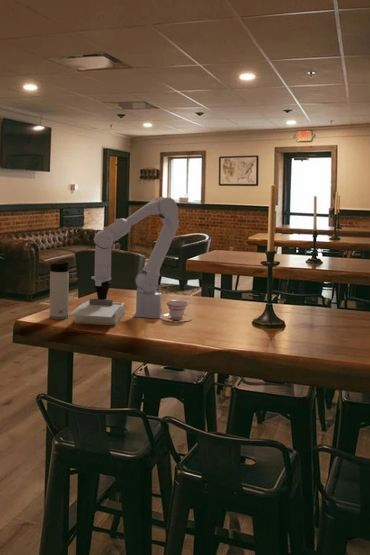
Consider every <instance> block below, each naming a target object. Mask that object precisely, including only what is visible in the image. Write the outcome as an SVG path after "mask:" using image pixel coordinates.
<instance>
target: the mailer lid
mask: <svg viewBox="0 0 370 555" xmlns="http://www.w3.org/2000/svg"><path fill="white" fill-rule="evenodd" d="M89 301H90V303H86V302H82V303H81V304H80V305H79V306H77V307H76V308H75V309H74V310H72V311H71V312H70V313H68V317H75V316H81V317H97V318H112V316H113V315H114V314H115V313H116V312H117V311H118V309H119V308H120V307H121V305H113V299H108V298H106V299H98V298H89Z"/></svg>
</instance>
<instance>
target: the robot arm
mask: <svg viewBox="0 0 370 555" xmlns="http://www.w3.org/2000/svg"><path fill="white" fill-rule="evenodd" d="M178 212H179V207H178V205H177V203H176V201H175V199H173V198H171V197H169V196H168V197H164V196H158V197H156V198H155V199H153V200H151V201H148V202H147V203H146V204H145V205H143V206H142V207H141V208H139V209H137V210H136V211H135V212H133V213H132V214H131V215H129V216H127V218H122V217H120V218H115V219H114V222H113V223H111V224H110V225H108V226H104V227H103V229H102V230H99V231H98V232H96V233H95V235H94V237H93V242H94V244H95V250H94V276H91V277H90V279H91V280H94V283H93V287H94V288H95V289H94V290H96V295H97V299H108V298H107V297H108V293H109V290H110V286H112V282H111V280H112V246H113V245H114V242H116V241H118V240H119V239H121V238H122V237H124V236H126V235H127V234H128V233H130V232H131V228H132V227H133V226H134V225H136V224H137V223H139V222H140V221H142V220H143V219H146V218H147V217H149V216H153V215H154V216H155V215H158V217H159V218H160V221H161V222H162V224H163V226H162V228H161V231H160V233H159V234H158V237H157V239H156V242H155V244H154V246H153V249H152V251H151V253H150V256H149V258H148V260H147V262H146V264H145V265H144V266H143V267H142V269H141V271H140V272H139V273H138V274H137V275H136V276H135V284H136V286H137V289H136V291H135V292H136V293H135V294H136V296H135V298H136V300H135V313H134V314H133V316H132V317H133V318H146V319H147V318H150V319H160V316H161V315H162V311H163V310H162V300H163V295H162V292H157V289H158V288H159V278H160V276H161V275H160V274H161V273H160V271H161V270H160V269H161V267H162V265H163V263H164V260H165V258H166V256H167V253H168V251H169V249H170V247H171V244H172V242H173V240H174V237H175V234H176V233H177V230H178V229H179V224H180V222H179V221H180V220H179V213H178Z"/></svg>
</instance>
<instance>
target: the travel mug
mask: <svg viewBox="0 0 370 555" xmlns="http://www.w3.org/2000/svg"><path fill="white" fill-rule="evenodd" d="M69 265H70V261H64V262H63V261H62V262H54V263H53V262H52V263H50V268H49V269H50V271H49V272H50V273H49V318H50V319H51V320H56V321H57V320H59V321H60V320H66V319H68V318H69V281H70V280H69V278H70V277H69V275H70V274H69V272H70V271H69Z"/></svg>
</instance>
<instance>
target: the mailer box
mask: <svg viewBox="0 0 370 555" xmlns="http://www.w3.org/2000/svg"><path fill="white" fill-rule="evenodd" d="M85 303H90V300H87V301H86V302H85ZM113 305H121V307H120V308H119V309H118V311H117V312H116V313H115V314H114V315H113V316H112V318H97V317H81V316H74V324H84V325H99V326H116V325H117V324H118V323H119V321H120V320H122V318H123V317H124V315H125V314H126V312H125V308H126V306H125V305H126V303H125V302H113Z"/></svg>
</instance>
